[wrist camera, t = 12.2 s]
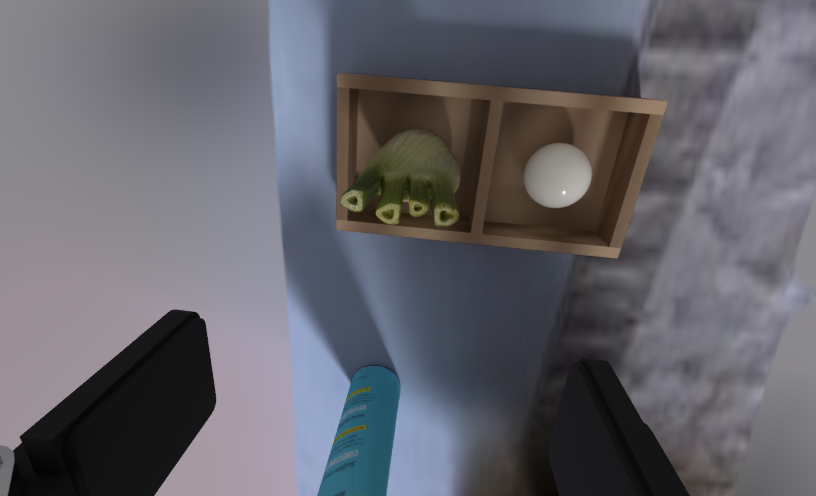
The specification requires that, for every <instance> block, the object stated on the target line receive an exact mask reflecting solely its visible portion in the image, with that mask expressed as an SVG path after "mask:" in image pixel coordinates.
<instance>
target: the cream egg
mask: <svg viewBox="0 0 816 496" xmlns="http://www.w3.org/2000/svg"><path fill="white" fill-rule="evenodd" d="M591 179H592V168H591V164H590V161H589V159H588V158H587V156H586V155H585V153H584V152H582V151H581V150H580V149H579V148H577V147H575V146H573V145H570V144H567V143H553V144H549V145H546V146H544V147H542V148H540V149H539V150H537V151H536V152H535V153H534V154H533V155H532V156H531V157H530V159H529V160H528V162H527V164H526V166H525V169H524V175H523V181H524V186H525V189H526V191H527V193H528V194H529V196H530V197H531V198H532V199H533V200H534V201H535V202H537V203H538V204H540V205H542V206H545V207H549V208H562V207H566V206H569V205H571V204H573V203H575V202H577V201H578V200H579V199H580V198H581V197H582V196H583V195H584V194H585V193H586V191H587V190H588V188H589V186H590V183H591Z"/></svg>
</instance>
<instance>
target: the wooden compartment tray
mask: <svg viewBox="0 0 816 496" xmlns="http://www.w3.org/2000/svg"><path fill="white" fill-rule="evenodd" d="M667 103H668V101H661V100H653V99H645V98H635V97H623V96H611V95H599V94H587V93H576V92H564V91H552V90H540V89H528V88H516V87H504V86H493V85H481V84H469V83H457V82H445V81H433V80H421V79H409V78H398V77H386V76H374V75H362V74H350V73H337V199H336V230H343V231H353V232H362V233H372V234H382V235H392V236H402V237H412V238H421V239H431V240H441V241H451V242H461V243H471V244H480V245H490V246H500V247H510V248H520V249H529V250H539V251H549V252H559V253H569V254H579V255H588V256H598V257H608V258H618V256H619V253H620V250H621V247H622V243H623V240H624V237H625V234H626V231H627V228H628V225H629V222H630V218H631V215H632V212H633V209H634V206H635V203H636V200H637V197H638V194H639V190H640V187H641V184H642V181H643V178H644V175H645V172H646V169H647V165H648V162H649V159H650V156H651V153H652V150H653V147H654V144H655V141H656V137H657V134H658V131H659V128H660V125H661V122H662V119H663V116H664V112H665V109H666V106H667ZM410 129H426V130H429V131H431V132H433V133H435V134H437V135H438V136H440V137H441V138H442V139H443V140H444V141H445V142H446V144H447V146H448V148H449V150H450V151H451V153H452V154H453V156H454V157H455V158H456V160H457V162H458V164H459V168H460V183H459V187H458V189H457V190H456V192H455V193H454V197H455V202H456V205H457V207H458V209H459V214H460V215H459V220H458V221H456V222H455V223H453V224H452V225H450V226H447V227H444V226H436V225H435V224H434V219H433V214H432V211H431V206H430V200H429V210H428V211H427V213H426V214H424V215H422V216H419V217H413V216H412V215H411V214H410V213H409V202H404V201H402V207H401V215H400V220H399V223H398V224H396V225H388V224H387V223H385V222H383V221H382V220H381V219H379V218H378V217H377V216H376V209H377V205H378V202H379V198H380V195H377V196H376V197H374V198H373V200H372V201H371V202H370V203H369V204H368V205H367V206H366V207H365V208H364V209H363V211H361V212H353V211H350V209H348V208H347V207H344V206H343V205H342V204H341V203H340V198H341V196H342V194H343V193H344V192H345V191H346V190H347V189H349V188H350V187H351V186H352V185H353V184H354V183H355V182H356V180H357V179H358V177H359V176H360V174H361V172H362V169H363V167H364V165H365V164H366V163H367V161H368V160H369V159H370V158H371V157H372V156H373V155H374V154H375V153H376V152H377V151H378V150H379V149H380V148H381V147H383V146H384V145H385V144H386V143H387V142H388V141H389V140H390V139H392V138H393V137H394V136H395V135H397V134H399V133H400V132H403V131H406V130H410ZM553 143H567V144H570V145H573V146H575V147H577V148H579V149H580V150H581V151H582V152H584V153H585V155H586V156H587V158H588V159H589V161H590V164H591V168H592V179H591V183H590V186H589V188H588V190H587V191H586V193H585V194H584V195H583V196H582V197H581V198H580V199H579V200H578V201H577V202H575V203H573V204H571V205H569V206H566V207H562V208H549V207H545V206H542V205H540V204H538V203H537V202H535V201H534V200H533V199H532V198H531V197H530V196H529V194H528V193H527V191H526V189H525V186H524V181H523V175H524V169H525V166H526V164H527V162H528V160H529V159H530V157H531V156H532V155H533V154H534V153H535V152H536V151H537V150H539V149H540V148H542V147H544V146H546V145H549V144H553Z"/></svg>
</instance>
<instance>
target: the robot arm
mask: <svg viewBox="0 0 816 496" xmlns="http://www.w3.org/2000/svg"><path fill="white" fill-rule="evenodd" d="M215 404H216V393H215V386H214V379H213V372H212V365H211V359H210V352H209V345H208V337H207V331H206V324H205V321H204V320H203V319H202V318H200V316H199V315H198V313H196V312H191V311H183V310H171V311H169V312H168V313H167V314H166V315H165V316H163V317H162V318H161V319H160V320H158V321H157V322H156V323H155V324H154V325H153V326H151V327H150V328H149V329H148V330H146V331H145V332H144V333H143V334H142V335H140V336H139V337H138V338H137V339H136V340H135V341H134V342H132V343H131V344H130V345H129V346H127V347H126V348H125V349H124V350H123V351H122V352H120V353H119V354H118V355H117V356H115V357H114V358H113V359H112V360H111V361H109V362H108V363H107V364H106V365H105V366H104V367H102V368H101V369H100V370H99V371H97V372H96V373H95V374H94V375H93V376H92V377H90V378H89V379H88V380H87V381H86V382H84V383H83V384H82V385H81V386H80V387H78V388H77V389H76V390H75V391H74V392H72V393H71V394H70V395H69V396H68V397H66V398H65V399H64V400H63V401H62V402H60V403H59V404H58V405H57V406H56V407H55V408H53V409H52V410H51V411H50V412H49V413H47V414H46V415H45V416H44V417H43V418H41V419H40V420H39V421H38V422H37V423H35V424H34V425H33V426H32V427H31V428H30V429H28V430H27V431H26V432H25V433H24V434H23V435H21V436H20V438H21V441H22V443H21V444H20V445H19V446H18V447H17V448H15V450H13V451H12V450H11V449H9V448H8V447H6V446H1V445H0V496H154V495H155V494H156V492H157V491H158V489H159V488H160V487H161V485H162V484H163V482H164V481H165V479H166V478H167V477H168V475H169V474H170V472H171V471H172V469H173V468H174V467H175V465H176V464H177V462H178V461H179V459H180V458H181V457H182V455H183V454H184V452H185V451H186V450H187V448H188V447H189V445H190V444H191V442H192V441H193V440H194V438H195V437H196V435H197V434H198V432H199V431H200V430H201V428H202V427H203V425H204V424H205V422H206V421H207V420H208V418H209V417H210V415H211V414H212V412H213V410H214V408H215ZM548 456H549V460H550V464H551V468H552V471H553V475H554V479H555V482H556V486H557V490H558V493H559V496H690V495H689V494H688V492H687V490H686V489H685V487H684V485H683V484H682V482H681V480H680V478H679V477H678V475H677V473H676V472H675V470H674V468H673V466H672V465H671V463H670V461H669V460H668V458H667V456H666V454H665V453H664V451H663V449H662V448H661V446H660V444H659V443H658V441H657V439H656V437H655V436H654V434H653V432H652V431H651V429H650V428H649V427H648V425H646V424H645V423H643V421H642V419H641V417H640V416H639V414H638V412H637V410H636V409H635V407H634V405H633V404H632V402H631V400H630V398H629V397H628V395H627V393H626V391H625V390H624V388H623V386H622V384H621V383H620V381H619V379H618V377H617V376H616V374H615V372H614V371H613V369H612V367H611V365H610V364H609V363H608V362H607V361H603V360H594V359H586V358H582V359H581V360H580V361H579V363H578V364H577V363H574V364H572V366H571V368H570V372H569V375H568V378H567V382H566V385H565V388H564V392H563V395H562V398H561V402H560V405H559V408H558V412H557V415H556V418H555V422H554V425H553V428H552V432H551V435H550V438H549V442H548Z"/></svg>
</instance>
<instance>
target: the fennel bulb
mask: <svg viewBox="0 0 816 496" xmlns="http://www.w3.org/2000/svg"><path fill="white" fill-rule="evenodd" d="M459 183H460V168H459V164H458V162H457V160H456V158H455V157H454V156H453V154H452V153H451V151H450V150H449V148H448V146H447V144H446V142H445V141H444V140H443V139H442V138H441V137H440V136H438V135H437V134H435V133H433V132H431V131H429V130H426V129H410V130H406V131H403V132H400V133H399V134H397V135H395V136H394V137H393V138H392V139H390V140H389V141H388V142H387V143H386V144H385V145H384V146H383V147H381V148H380V149H379V150H378V151H377V152H376V153H375V154H374V155H373V156H372V157H371V158H370V159H369V160H368V161H367V163H366V164H365V165H364V167H363V169H362V172H361V174H360V176H359V177H358V179H357V180H356V182H355V183H354V184H353V185H352V186H351V187H350V188H349V189H347V190H346V191H345V192H344V193H343V194H342V196H341V198H340V203H341V204H342V205H343V206H344V207H347V208H348V209H350V211H353V212H361V211H363V209H364V208H365V207H366V206H367V205H368V204H369V203H370V202H371V201H372V200H373V198H374V197H376V196H377V195H380V198H379V202H378V205H377V209H376V216H377V217H378V218H379V219H381V220H382V221H383V222H385V223H387V224H388V225H396V224H398V223H399V220H400V215H401V207H402V201H404V202H409V213H410V214H411V215H412V216H413V217H419V216H422V215H424V214H426V213H427V211H428V210H429V200H430V206H431V211H432V214H433V219H434V224H435V225H436V226H444V227H447V226H450V225H452V224H453V223H455V222H456V221H458V220H459V215H460V214H459V209H458V207H457V205H456V202H455V197H454V193H455V192H456V190H457V189H458V187H459Z"/></svg>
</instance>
